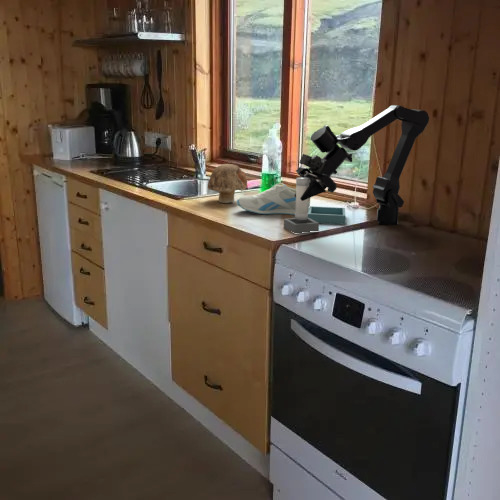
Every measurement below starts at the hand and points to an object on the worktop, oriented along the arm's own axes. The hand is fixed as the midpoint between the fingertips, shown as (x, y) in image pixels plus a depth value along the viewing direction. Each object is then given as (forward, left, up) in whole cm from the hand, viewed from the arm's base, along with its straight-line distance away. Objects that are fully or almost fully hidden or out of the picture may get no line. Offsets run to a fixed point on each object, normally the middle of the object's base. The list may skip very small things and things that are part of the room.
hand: (298, 198), depth 187 cm
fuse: (-1, -1, -7) cm, 7 cm away
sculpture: (+30, -39, -11) cm, 50 cm away
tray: (-9, -18, -10) cm, 23 cm away
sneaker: (+10, -24, -11) cm, 28 cm away
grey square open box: (-1, -1, -10) cm, 11 cm away
